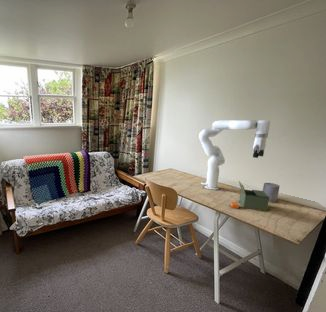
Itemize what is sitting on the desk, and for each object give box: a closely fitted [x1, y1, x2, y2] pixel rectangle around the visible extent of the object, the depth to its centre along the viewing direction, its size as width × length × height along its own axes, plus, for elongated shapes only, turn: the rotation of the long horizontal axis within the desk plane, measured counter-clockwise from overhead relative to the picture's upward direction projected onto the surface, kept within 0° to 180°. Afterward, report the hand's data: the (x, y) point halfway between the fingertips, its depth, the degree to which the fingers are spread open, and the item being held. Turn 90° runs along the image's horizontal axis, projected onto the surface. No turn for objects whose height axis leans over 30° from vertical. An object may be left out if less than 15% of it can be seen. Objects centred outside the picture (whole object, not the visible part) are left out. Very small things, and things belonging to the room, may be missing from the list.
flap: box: [238, 180, 246, 194], centre depth 150 cm, size 7×13×1 cm
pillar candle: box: [262, 182, 281, 203], centre depth 158 cm, size 10×10×15 cm
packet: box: [230, 201, 240, 209], centre depth 149 cm, size 6×4×3 cm, turn 154°
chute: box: [238, 189, 270, 212], centre depth 149 cm, size 14×13×11 cm
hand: (258, 156), depth 154 cm, fingers open, 9 cm apart
